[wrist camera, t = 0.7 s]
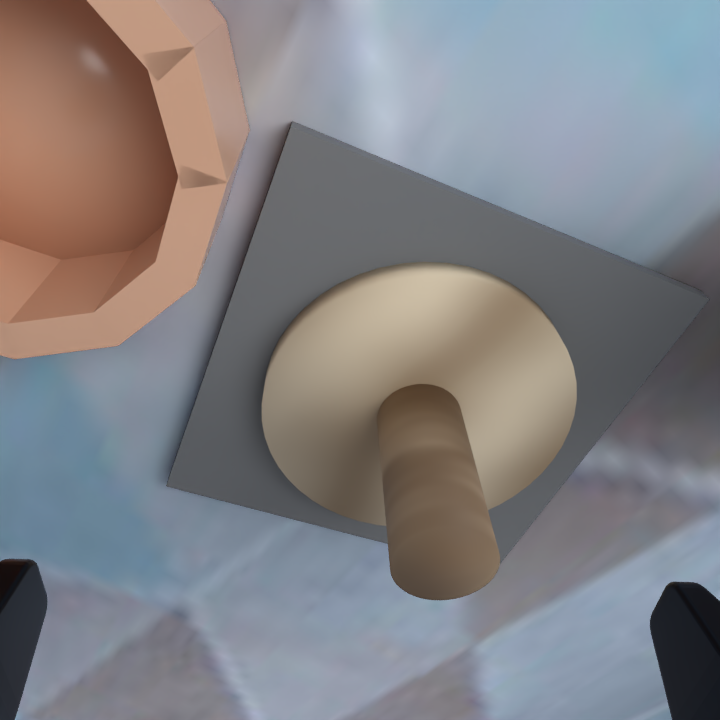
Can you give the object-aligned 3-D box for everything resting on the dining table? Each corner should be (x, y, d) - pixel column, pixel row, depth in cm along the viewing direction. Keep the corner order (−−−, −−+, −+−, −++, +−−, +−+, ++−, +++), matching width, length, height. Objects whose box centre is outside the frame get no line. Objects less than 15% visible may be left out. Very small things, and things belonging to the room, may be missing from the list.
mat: (700, 290, 21) (709, 299, 20) (491, 560, 28) (494, 571, 27) (292, 121, 18) (290, 126, 17) (169, 475, 25) (166, 486, 24)
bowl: (294, -13, 16) (282, 4, 12) (190, 317, 21) (159, 401, 17) (-159, -224, 14) (-348, -285, 10) (-154, 205, 18) (-278, 274, 15)
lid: (629, 326, 21) (744, 477, 15) (477, 534, 26) (518, 707, 20) (329, 211, 18) (327, 338, 13) (227, 465, 24) (191, 639, 18)
